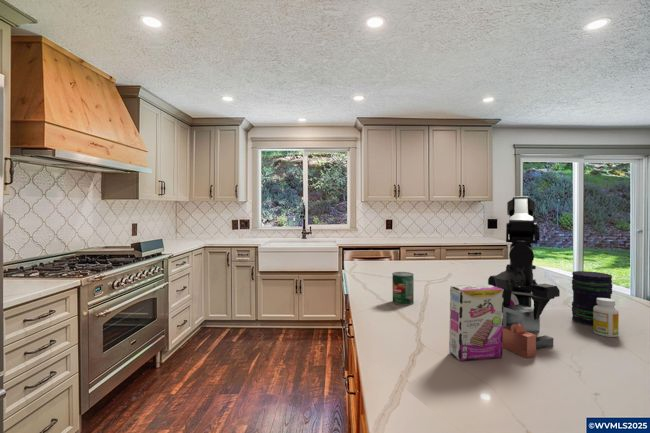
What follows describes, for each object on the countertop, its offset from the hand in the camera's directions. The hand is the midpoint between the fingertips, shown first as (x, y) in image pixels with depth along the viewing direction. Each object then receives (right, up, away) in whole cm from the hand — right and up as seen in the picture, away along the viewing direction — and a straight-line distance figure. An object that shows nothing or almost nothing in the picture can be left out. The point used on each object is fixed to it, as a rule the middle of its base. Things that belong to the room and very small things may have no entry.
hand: (520, 314), depth 97 cm
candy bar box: (-22, -4, -19) cm, 29 cm away
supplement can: (-12, 0, +11) cm, 16 cm away
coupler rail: (-6, -4, -14) cm, 16 cm away
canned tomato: (-28, -4, +29) cm, 40 cm away
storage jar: (+25, -4, +6) cm, 27 cm away
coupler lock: (0, -4, 0) cm, 4 cm away
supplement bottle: (+21, -4, -4) cm, 22 cm away
